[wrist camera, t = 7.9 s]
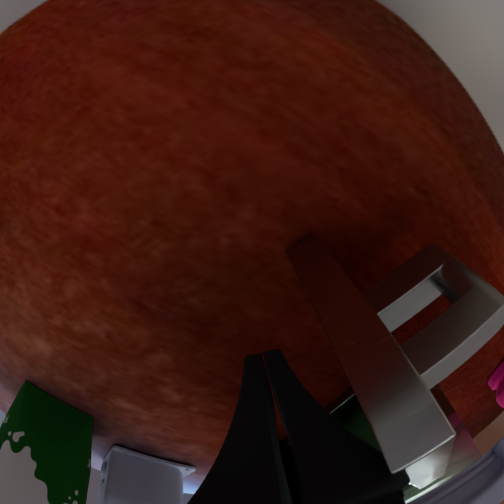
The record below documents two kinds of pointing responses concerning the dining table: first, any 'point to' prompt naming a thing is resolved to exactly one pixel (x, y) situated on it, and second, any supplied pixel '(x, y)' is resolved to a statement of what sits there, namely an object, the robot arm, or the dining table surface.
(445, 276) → the microwave door
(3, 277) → the dining table surface
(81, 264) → the dining table surface
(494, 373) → the pepper mill
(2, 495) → the milk carton
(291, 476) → the box
